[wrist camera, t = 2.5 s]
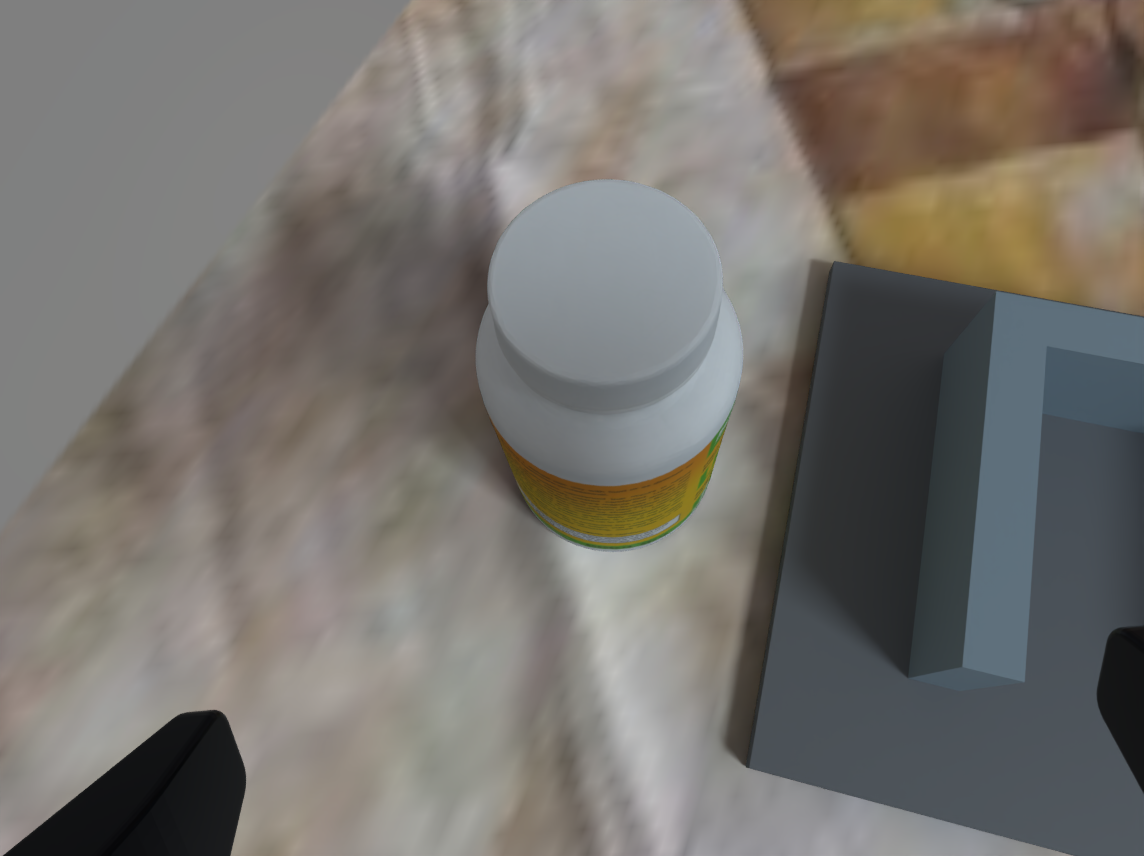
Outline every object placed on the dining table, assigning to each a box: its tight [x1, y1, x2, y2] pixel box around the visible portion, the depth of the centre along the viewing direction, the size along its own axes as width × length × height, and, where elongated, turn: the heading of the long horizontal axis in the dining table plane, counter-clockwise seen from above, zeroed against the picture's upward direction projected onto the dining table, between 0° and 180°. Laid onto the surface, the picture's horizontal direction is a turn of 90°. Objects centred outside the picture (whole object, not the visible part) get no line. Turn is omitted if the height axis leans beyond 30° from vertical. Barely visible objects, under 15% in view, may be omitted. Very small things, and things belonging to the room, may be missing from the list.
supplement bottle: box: [476, 179, 743, 552], centre depth 18 cm, size 5×5×10 cm
